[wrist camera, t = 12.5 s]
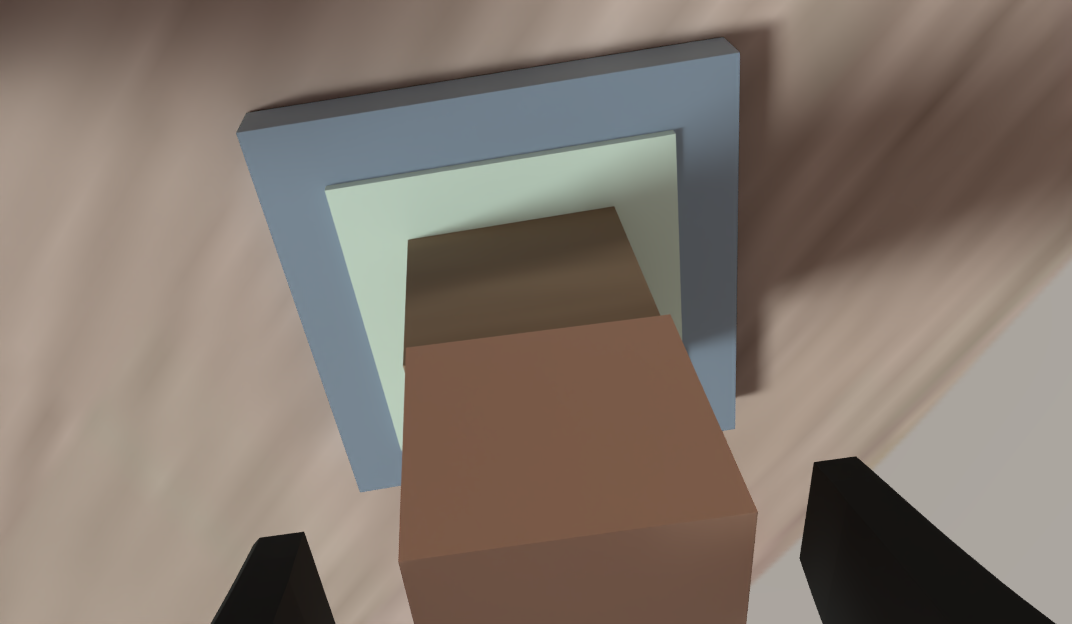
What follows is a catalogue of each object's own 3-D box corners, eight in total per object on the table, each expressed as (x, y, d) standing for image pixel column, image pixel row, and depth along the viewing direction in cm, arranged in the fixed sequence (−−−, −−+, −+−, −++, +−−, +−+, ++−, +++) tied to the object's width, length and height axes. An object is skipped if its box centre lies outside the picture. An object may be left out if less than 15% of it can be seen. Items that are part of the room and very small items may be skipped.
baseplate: (246, 112, 15) (233, 137, 14) (723, 37, 16) (743, 55, 15) (362, 463, 20) (359, 498, 19) (722, 401, 21) (737, 434, 20)
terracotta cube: (406, 347, 12) (398, 561, 9) (670, 313, 13) (758, 511, 9) (443, 530, 15) (448, 756, 11) (667, 500, 15) (736, 713, 11)
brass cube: (407, 239, 16) (403, 366, 13) (614, 206, 16) (663, 322, 13) (446, 399, 18) (450, 542, 15) (627, 369, 18) (671, 505, 15)
